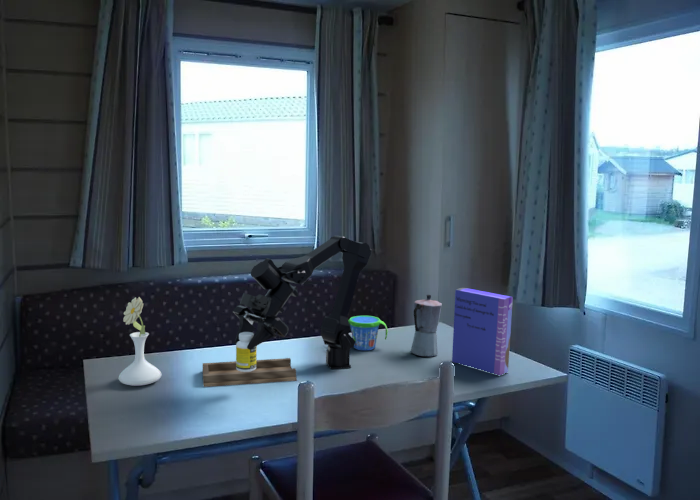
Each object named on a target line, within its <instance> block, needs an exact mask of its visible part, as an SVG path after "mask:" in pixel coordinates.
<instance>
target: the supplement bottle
mask: <svg viewBox="0 0 700 500" xmlns="http://www.w3.org/2000/svg"><path fill="white" fill-rule="evenodd" d="M254 334H255V333H254V332H242V333H239V340H240V341H238V342H237V344H235V346H236V349H235V361H236V369H237V370H238V371H242V372H250V371H253V370H255V369H256V360H257V347H258V345H257V346H256V347H254V348H252V349H251V350H249V349H248V348H247V346H248V344H249V342H250V341H251V339H252V337H253V336H254Z"/></svg>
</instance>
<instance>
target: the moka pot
mask: <svg viewBox="0 0 700 500" xmlns="http://www.w3.org/2000/svg"><path fill="white" fill-rule="evenodd" d="M413 304H414V305H413V306H414V309H413V317H414V318H413V319H414V328H415V329H414V330H415V331H414V335H413V339H412V344H411V349H410V353H412V354H414V355H415V356H419V357H436V356H438V354H439V351H438V334H437V331H438V327H439V323H440V316H441V312H442V311H441V310H442V306H443V303H441V302H439V300H433V299H432V294H426V299H418V300H414V303H413Z"/></svg>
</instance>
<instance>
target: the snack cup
mask: <svg viewBox="0 0 700 500" xmlns="http://www.w3.org/2000/svg"><path fill="white" fill-rule="evenodd" d="M348 321H349V325H350V328H349V329H350V331H351V337H352V338H353V339H354V340H355V344H354V349H356V350H358V351H371V350H374V349H375V348H376V345H377V339H378V334H379V326H380V325H382V326H384V328H385V338H384V340H387V338H388V332H389V331H388V327H387V324H386V323H385V322H384V321H382V320H381V319H380V318H379V317H378V316H373V315H356V316H355V315H354V316H351V317H350V318H348Z"/></svg>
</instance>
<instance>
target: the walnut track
mask: <svg viewBox="0 0 700 500" xmlns="http://www.w3.org/2000/svg"><path fill="white" fill-rule="evenodd" d="M291 360H292V359H291V358H290V357H289V358H288V357H287V358H286V357H285V358H271V359H256V369H255V370H253V371H250V372H242V371H238V370H237V369H236V360H235V361H233V360H232V361H219V362H202V383H203V384H202V385H203V388H207V387H210V388H211V387H225V386H236V385H237V386H238V385H239V386H240V385H252V384H253V385H254V384H267V383H268V384H269V383H280V382H295V381H296V382H297V381H298V380H297V379H298V378H297V369H296V368H295V367H294V368H292V366H291V365H292V363H291Z"/></svg>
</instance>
